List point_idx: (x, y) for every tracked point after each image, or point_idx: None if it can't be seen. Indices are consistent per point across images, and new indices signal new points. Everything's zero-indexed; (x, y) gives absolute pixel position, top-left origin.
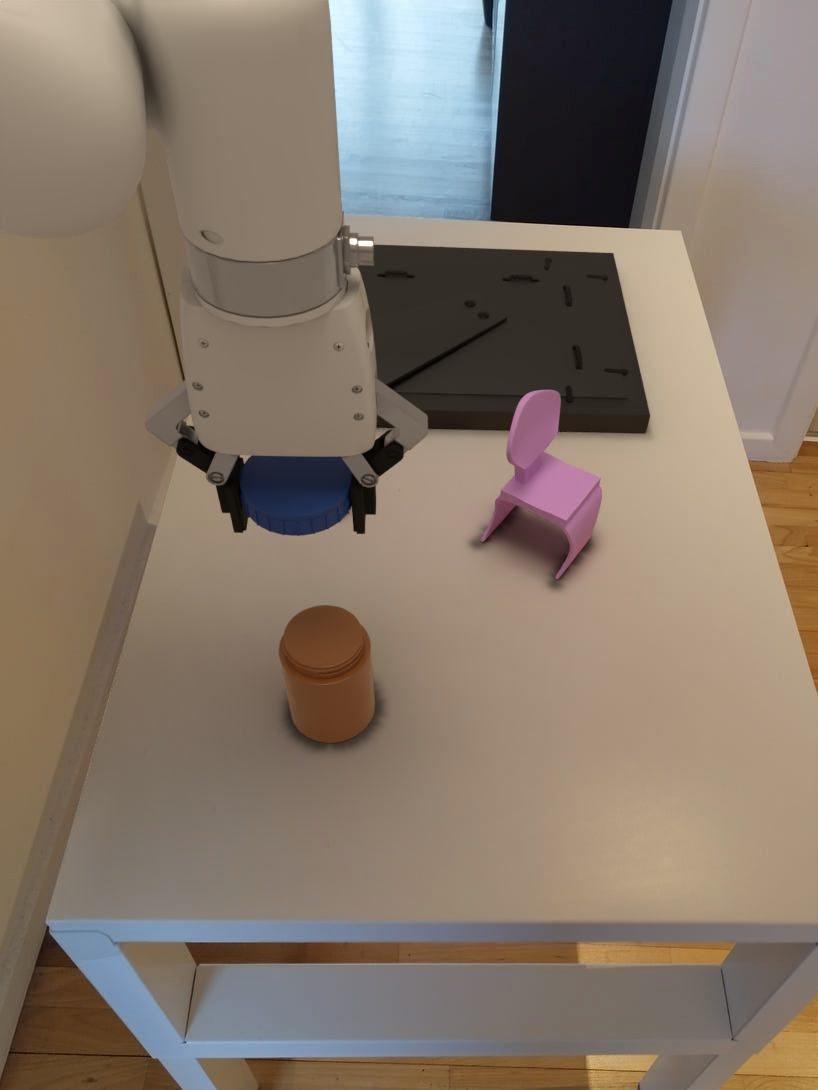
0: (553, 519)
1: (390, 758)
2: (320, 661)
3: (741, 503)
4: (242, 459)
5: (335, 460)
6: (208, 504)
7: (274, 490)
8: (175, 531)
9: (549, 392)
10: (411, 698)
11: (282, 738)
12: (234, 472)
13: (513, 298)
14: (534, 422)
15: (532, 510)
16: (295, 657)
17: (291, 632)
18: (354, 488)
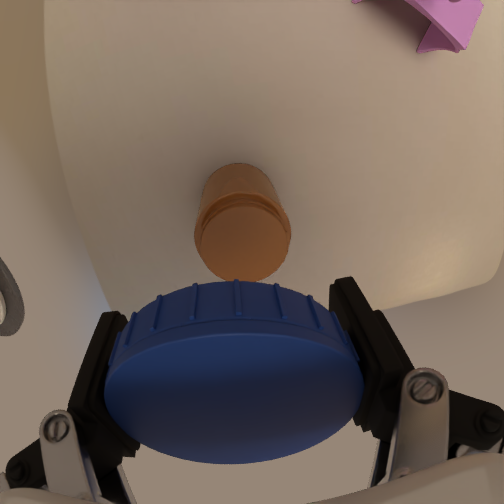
0: (452, 40)
1: (291, 235)
2: (248, 277)
3: None
4: (97, 406)
5: (327, 379)
6: (69, 6)
7: (203, 444)
8: (50, 46)
9: None
10: (304, 180)
11: None
12: (118, 451)
13: None
14: None
15: (434, 23)
16: (221, 277)
17: (208, 249)
18: (365, 429)
